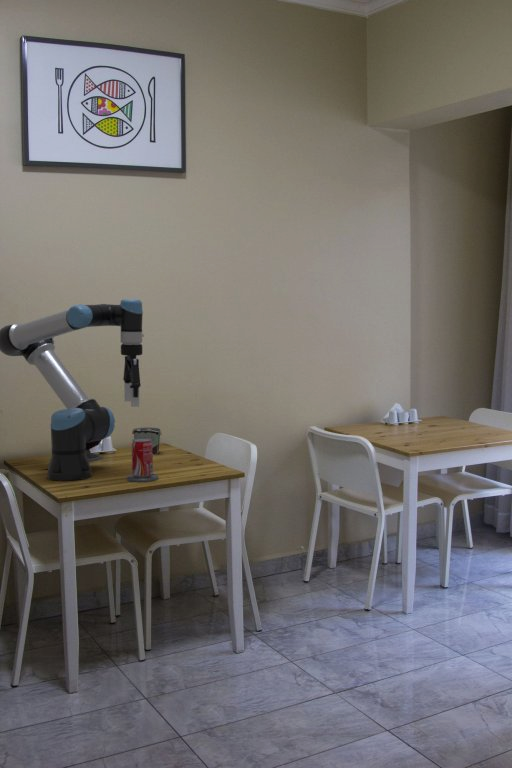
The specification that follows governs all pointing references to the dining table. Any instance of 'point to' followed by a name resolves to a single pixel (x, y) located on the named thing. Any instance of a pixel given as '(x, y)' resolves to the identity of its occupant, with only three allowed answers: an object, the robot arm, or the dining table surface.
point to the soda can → (142, 458)
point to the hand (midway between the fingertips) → (131, 403)
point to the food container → (149, 436)
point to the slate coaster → (149, 479)
